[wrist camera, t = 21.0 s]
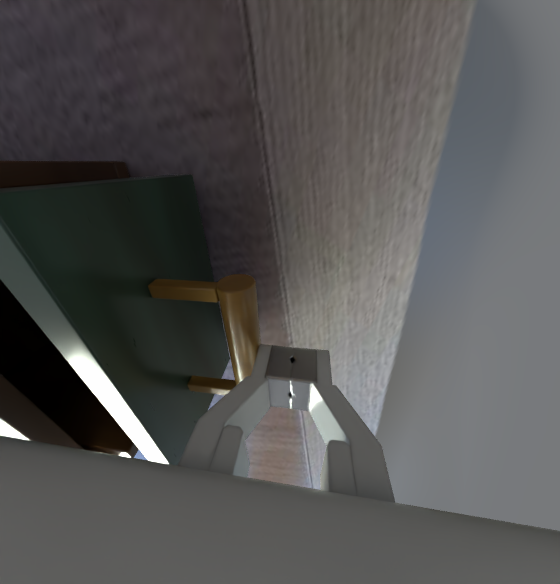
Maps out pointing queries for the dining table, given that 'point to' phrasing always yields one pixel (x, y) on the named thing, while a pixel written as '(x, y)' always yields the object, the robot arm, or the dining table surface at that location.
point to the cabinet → (3, 394)
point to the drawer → (119, 311)
